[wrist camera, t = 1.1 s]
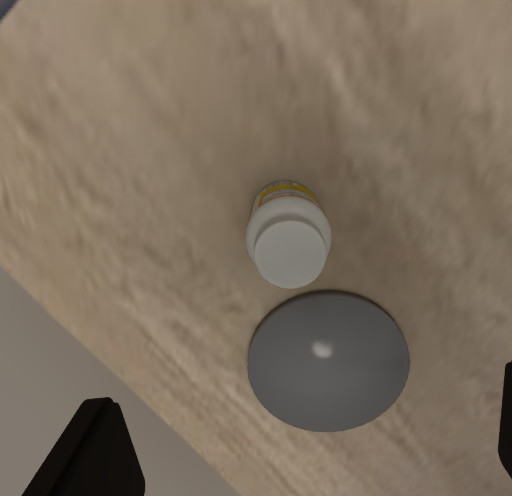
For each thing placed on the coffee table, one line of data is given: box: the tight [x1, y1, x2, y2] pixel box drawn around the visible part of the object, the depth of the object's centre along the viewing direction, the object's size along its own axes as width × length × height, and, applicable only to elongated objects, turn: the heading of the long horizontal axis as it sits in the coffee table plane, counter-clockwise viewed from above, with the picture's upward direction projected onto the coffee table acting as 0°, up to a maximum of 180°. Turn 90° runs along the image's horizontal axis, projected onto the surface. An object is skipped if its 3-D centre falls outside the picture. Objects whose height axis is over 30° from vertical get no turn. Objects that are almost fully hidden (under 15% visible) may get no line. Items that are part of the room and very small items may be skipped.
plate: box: [248, 290, 410, 432], centre depth 32 cm, size 14×14×1 cm
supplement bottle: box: [245, 181, 332, 289], centre depth 24 cm, size 5×5×10 cm
